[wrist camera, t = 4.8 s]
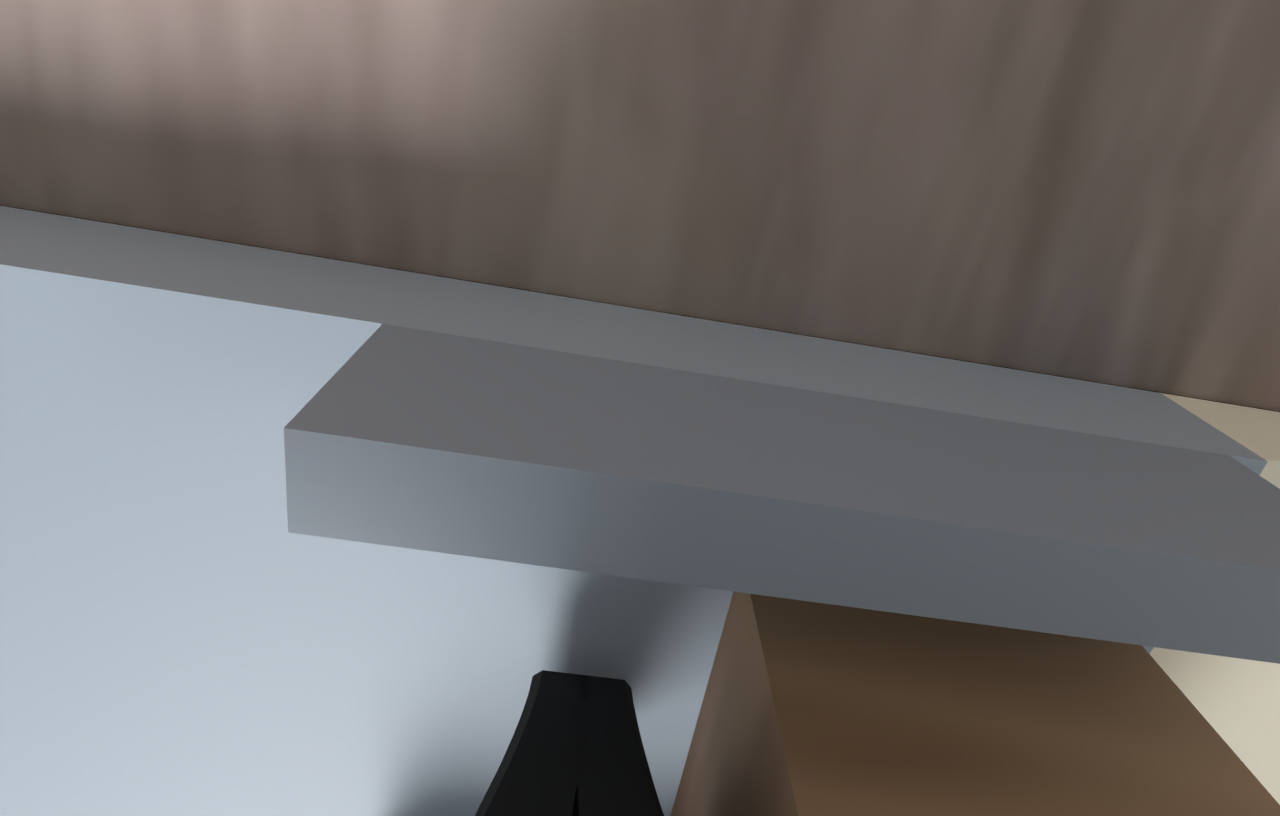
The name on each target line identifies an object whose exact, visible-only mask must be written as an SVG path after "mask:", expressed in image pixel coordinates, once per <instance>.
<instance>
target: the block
mask: <svg viewBox="0 0 1280 816" xmlns="http://www.w3.org/2000/svg"><path fill="white" fill-rule="evenodd" d="M671 816H1280V805H1279V804H1278V802H1277V801H1276V800H1275V799H1274V798H1273V797H1272V795H1271V794H1270V793H1269V792H1268V791H1267V790H1266V789H1265V787H1264V786H1263V785H1262V784H1261V783H1260V782H1259V780H1258V779H1257V778H1256V777H1255V776H1254V775H1253V773H1252V772H1251V771H1250V770H1249V769H1248V768H1247V767H1246V765H1245V764H1244V763H1243V762H1242V761H1241V760H1240V758H1239V757H1238V756H1237V755H1236V754H1235V753H1234V751H1233V750H1232V749H1231V748H1230V747H1229V746H1228V744H1227V743H1226V742H1225V741H1224V740H1223V739H1222V738H1221V736H1220V735H1219V734H1218V733H1217V732H1216V731H1215V729H1214V728H1213V727H1212V726H1211V725H1210V724H1209V722H1208V721H1207V720H1206V719H1205V718H1204V717H1203V716H1202V714H1201V713H1200V712H1199V711H1198V710H1197V709H1196V707H1195V706H1194V705H1193V704H1192V703H1191V702H1190V700H1189V699H1188V698H1187V697H1186V696H1185V695H1184V694H1183V692H1182V691H1181V690H1180V689H1179V688H1178V687H1177V685H1176V684H1175V683H1174V682H1173V681H1172V680H1171V678H1170V677H1169V676H1168V675H1167V674H1166V673H1165V671H1164V670H1163V669H1162V668H1161V667H1160V666H1159V665H1158V663H1157V662H1156V661H1155V660H1154V659H1153V658H1152V656H1151V655H1150V654H1149V653H1148V652H1147V651H1146V649H1145V648H1144V647H1143V646H1142V645H1134V644H1127V643H1119V642H1111V641H1104V640H1096V639H1089V638H1081V637H1074V636H1066V635H1059V634H1051V633H1043V632H1036V631H1028V630H1021V629H1013V628H1006V627H998V626H991V625H983V624H976V623H968V622H960V621H953V620H945V619H938V618H930V617H923V616H915V615H908V614H900V613H892V612H885V611H877V610H870V609H862V608H855V607H847V606H840V605H832V604H825V603H817V602H809V601H802V600H794V599H787V598H779V597H772V596H764V595H757V594H749V593H741V592H734V591H733V595H732V599H731V602H730V606H729V609H728V613H727V616H726V620H725V623H724V627H723V631H722V634H721V638H720V641H719V645H718V648H717V652H716V656H715V659H714V663H713V666H712V670H711V673H710V677H709V680H708V684H707V688H706V691H705V695H704V698H703V702H702V705H701V709H700V713H699V716H698V720H697V723H696V727H695V730H694V734H693V737H692V741H691V745H690V748H689V752H688V755H687V759H686V762H685V766H684V770H683V773H682V777H681V780H680V784H679V787H678V791H677V794H676V798H675V802H674V805H673V809H672V812H671Z"/></svg>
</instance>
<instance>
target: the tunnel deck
mask: <svg viewBox="0 0 1280 816" xmlns="http://www.w3.org/2000/svg"><path fill="white" fill-rule="evenodd" d="M733 591H734V592H741V593H749V594H757V595H764V596H772V597H779V598H787V599H794V600H802V601H809V602H817V603H825V604H832V605H840V606H847V607H855V608H862V609H870V610H877V611H885V612H892V613H900V614H908V615H915V616H923V617H930V618H938V619H945V620H953V621H960V622H968V623H976V624H983V625H991V626H998V627H1006V628H1013V629H1021V630H1028V631H1036V632H1043V633H1051V634H1059V635H1066V636H1074V637H1081V638H1089V639H1096V640H1104V641H1111V642H1119V643H1127V644H1134V645H1142V646H1143V647H1144V648H1145V649H1146V651H1147V652H1148V653H1149V654H1150V655H1151V656H1152V658H1153V659H1154V660H1155V661H1156V662H1157V663H1158V665H1159V666H1160V667H1161V668H1162V669H1163V670H1164V671H1165V673H1166V674H1167V675H1168V676H1169V677H1170V678H1171V680H1172V681H1173V682H1174V683H1175V684H1176V685H1177V687H1178V688H1179V689H1180V690H1181V691H1182V692H1183V694H1184V695H1185V696H1186V697H1187V698H1188V699H1189V700H1190V702H1191V703H1192V704H1193V705H1194V706H1195V707H1196V709H1197V710H1198V711H1199V712H1200V713H1201V714H1202V716H1203V717H1204V718H1205V719H1206V720H1207V721H1208V722H1209V724H1210V725H1211V726H1212V727H1213V728H1214V729H1215V731H1216V732H1217V733H1218V734H1219V735H1220V736H1221V738H1222V739H1223V740H1224V741H1225V742H1226V743H1227V744H1228V746H1229V747H1230V748H1231V749H1232V750H1233V751H1234V753H1235V754H1236V755H1237V756H1238V757H1239V758H1240V760H1241V761H1242V762H1243V763H1244V764H1245V765H1246V767H1247V768H1248V769H1249V770H1250V771H1251V772H1252V773H1253V775H1254V776H1255V777H1256V778H1257V779H1258V780H1259V782H1260V783H1261V784H1262V785H1263V786H1264V787H1265V789H1266V790H1267V791H1268V792H1269V793H1270V794H1271V795H1272V797H1273V798H1274V799H1275V800H1276V801H1277V802H1278V804H1279V805H1280V412H1275V411H1269V410H1263V409H1256V408H1250V407H1244V406H1238V405H1232V404H1225V403H1219V402H1213V401H1207V400H1201V399H1194V398H1188V397H1182V396H1176V395H1170V394H1163V393H1157V392H1151V391H1145V390H1139V389H1133V388H1126V387H1120V386H1114V385H1108V384H1102V383H1095V382H1089V381H1083V380H1077V379H1071V378H1064V377H1058V376H1052V375H1046V374H1040V373H1033V372H1027V371H1021V370H1015V369H1009V368H1002V367H996V366H990V365H984V364H978V363H971V362H965V361H959V360H953V359H947V358H940V357H934V356H928V355H922V354H916V353H910V352H903V351H897V350H891V349H885V348H879V347H872V346H866V345H860V344H854V343H848V342H841V341H835V340H829V339H823V338H817V337H810V336H804V335H798V334H792V333H786V332H779V331H773V330H767V329H761V328H755V327H748V326H742V325H736V324H730V323H724V322H717V321H711V320H705V319H699V318H693V317H686V316H680V315H674V314H668V313H662V312H656V311H649V310H643V309H637V308H631V307H625V306H618V305H612V304H606V303H600V302H594V301H587V300H581V299H575V298H569V297H563V296H556V295H550V294H544V293H538V292H532V291H525V290H519V289H513V288H507V287H501V286H494V285H488V284H482V283H476V282H470V281H463V280H457V279H451V278H445V277H439V276H432V275H426V274H420V273H414V272H408V271H402V270H395V269H389V268H383V267H377V266H371V265H364V264H358V263H352V262H346V261H340V260H333V259H327V258H321V257H315V256H309V255H302V254H296V253H290V252H284V251H278V250H271V249H265V248H259V247H253V246H247V245H240V244H234V243H228V242H222V241H216V240H209V239H203V238H197V237H191V236H185V235H178V234H172V233H166V232H160V231H154V230H148V229H141V228H135V227H129V226H123V225H117V224H110V223H104V222H98V221H92V220H86V219H79V218H73V217H67V216H61V215H55V214H48V213H42V212H36V211H30V210H24V209H17V208H11V207H5V206H0V816H475V814H476V812H477V810H478V808H479V806H480V804H481V802H482V800H483V798H484V796H485V794H486V792H487V790H488V788H489V786H490V784H491V782H492V780H493V778H494V776H495V774H496V772H497V770H498V768H499V766H500V764H501V762H502V760H503V757H504V755H505V753H506V751H507V748H508V746H509V744H510V742H511V739H512V737H513V735H514V732H515V730H516V727H517V725H518V722H519V720H520V717H521V714H522V712H523V709H524V706H525V703H526V700H527V697H528V693H529V690H530V685H531V681H532V677H533V675H535V674H537V673H539V672H540V671H542V670H545V671H554V672H562V673H571V674H579V675H588V676H596V677H605V678H613V679H622V680H625V681H626V682H627V683H628V684H629V686H630V687H631V689H632V696H633V702H634V707H635V713H636V718H637V722H638V727H639V731H640V735H641V739H642V743H643V747H644V751H645V755H646V758H647V762H648V765H649V769H650V772H651V776H652V779H653V783H654V786H655V789H656V793H657V796H658V799H659V802H660V805H661V808H662V811H663V814H664V816H671V812H672V809H673V805H674V802H675V798H676V794H677V791H678V787H679V784H680V780H681V777H682V773H683V770H684V766H685V762H686V759H687V755H688V752H689V748H690V745H691V741H692V737H693V734H694V730H695V727H696V723H697V720H698V716H699V713H700V709H701V705H702V702H703V698H704V695H705V691H706V688H707V684H708V680H709V677H710V673H711V670H712V666H713V663H714V659H715V656H716V652H717V648H718V645H719V641H720V638H721V634H722V631H723V627H724V623H725V620H726V616H727V613H728V609H729V606H730V602H731V599H732V595H733Z"/></svg>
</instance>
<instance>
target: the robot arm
mask: <svg viewBox="0 0 1280 816" xmlns="http://www.w3.org/2000/svg"><path fill="white" fill-rule="evenodd" d="M475 816H664V814H663V811H662V808H661V805H660V802H659V799H658V796H657V793H656V789H655V786H654V783H653V779H652V776H651V772H650V769H649V765H648V762H647V758H646V755H645V751H644V747H643V743H642V739H641V735H640V731H639V727H638V722H637V718H636V713H635V707H634V702H633V696H632V689H631V687H630V686H629V684H628V683H627V682H626V681H625V680H622V679H613V678H605V677H596V676H588V675H579V674H571V673H562V672H554V671H545V670H542V671H540V672H539V673H537V674H535V675H533V677H532V681H531V685H530V690H529V693H528V697H527V700H526V703H525V706H524V709H523V712H522V714H521V717H520V720H519V722H518V725H517V727H516V730H515V732H514V735H513V737H512V739H511V742H510V744H509V746H508V748H507V751H506V753H505V755H504V757H503V760H502V762H501V764H500V766H499V768H498V770H497V772H496V774H495V776H494V778H493V780H492V782H491V784H490V786H489V788H488V790H487V792H486V794H485V796H484V798H483V800H482V802H481V804H480V806H479V808H478V810H477V812H476V814H475Z"/></svg>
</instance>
